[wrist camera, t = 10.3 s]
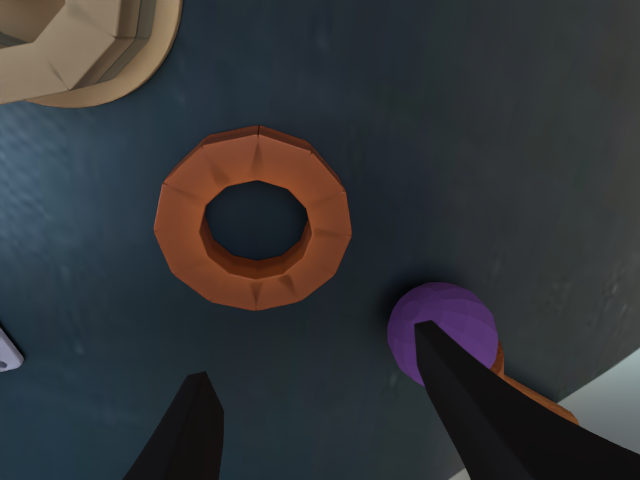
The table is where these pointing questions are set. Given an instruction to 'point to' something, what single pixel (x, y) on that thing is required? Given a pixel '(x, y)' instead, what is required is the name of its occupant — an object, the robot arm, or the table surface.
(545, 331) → the table surface
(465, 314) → the purple maraca
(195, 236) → the top ring
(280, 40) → the table surface
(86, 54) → the ring stand
